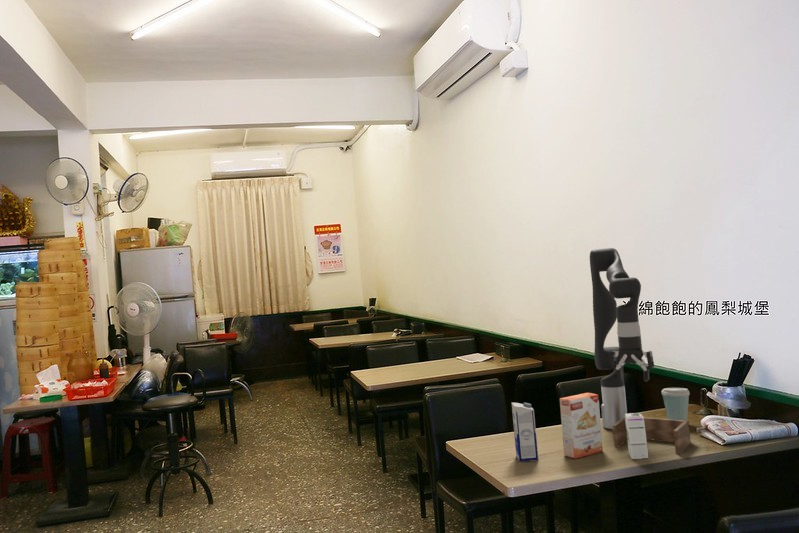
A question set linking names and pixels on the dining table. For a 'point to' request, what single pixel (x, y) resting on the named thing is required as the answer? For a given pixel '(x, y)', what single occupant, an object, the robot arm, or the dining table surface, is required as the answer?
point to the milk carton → (524, 432)
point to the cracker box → (581, 425)
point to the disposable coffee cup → (676, 403)
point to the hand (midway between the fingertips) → (633, 380)
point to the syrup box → (636, 436)
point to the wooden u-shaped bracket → (658, 432)
